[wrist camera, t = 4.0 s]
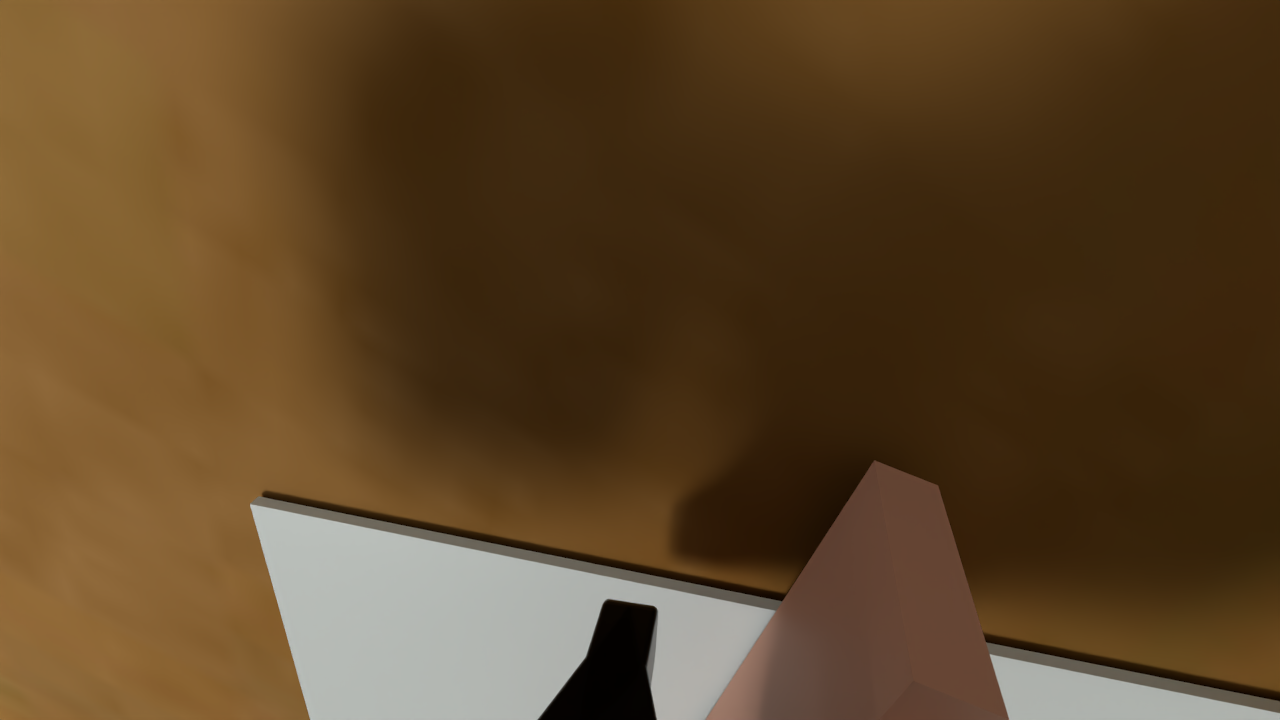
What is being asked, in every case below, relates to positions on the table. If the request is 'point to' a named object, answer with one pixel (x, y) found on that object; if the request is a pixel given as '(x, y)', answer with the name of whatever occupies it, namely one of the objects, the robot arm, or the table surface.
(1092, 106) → the table surface
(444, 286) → the table surface
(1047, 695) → the card
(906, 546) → the fence leaf
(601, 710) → the robot arm
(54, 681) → the table surface
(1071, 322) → the table surface
